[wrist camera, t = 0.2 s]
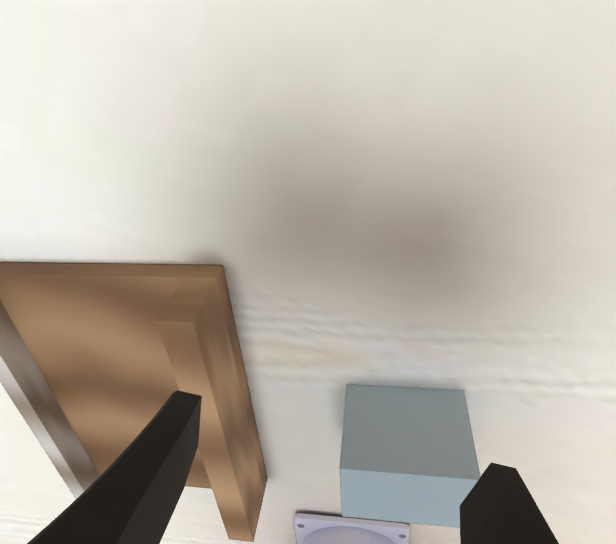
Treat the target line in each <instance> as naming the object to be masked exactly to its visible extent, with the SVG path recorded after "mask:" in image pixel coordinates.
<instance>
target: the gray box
mask: <svg viewBox="0 0 616 544" xmlns="http://www.w3.org/2000/svg"><path fill="white" fill-rule="evenodd" d="M479 478H480V472H479V467H478V461H477V456H476V451H475V446H474V441H473V435H472V430H471V425H470V420H469V415H468V409H467V404H466V399H465V394H464V390H449V389H430V388H411V387H392V386H373V385H354V384H347V386H346V398H345V410H344V422H343V434H342V446H341V458H340V486H341V504H342V516H344V517H354V518H365V519H375V520H385V521H395V522H405V523H416V524H426V525H436V526H446V527H456V528H460V505H461V503H462V502H463V500H464V499H465V498H466V496H467V495H468V494H469V492H470V491H471V489H472V488H473V487H474V485H475V484H476V483H477V481H478V480H479Z"/></svg>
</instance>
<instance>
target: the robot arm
mask: <svg viewBox="0 0 616 544" xmlns="http://www.w3.org/2000/svg"><path fill="white" fill-rule="evenodd" d="M201 400H202V396H200V395H196V394H192V393H187V392H183V391H179V390H177V391H175V392H173V393H172V394H171V396H170V397H169V398H168V400H167V401H166V402H165V404H164V405H163V406H162V407H161V409H160V410H159V411H158V412H157V414H156V415H155V416H154V417H153V419H152V420H151V421H150V422H149V423H148V425H147V426H146V427H145V428H144V429H143V430H142V431H141V433H140V434H139V435H138V436H137V437H136V438H135V439H134V441H133V442H132V443H131V444H130V445H129V446H128V447H127V448H126V449H125V450H124V451H123V452H122V454H121V455H120V456H119V457H118V458H117V459H116V460H115V461H114V462H113V463H112V464H111V465H110V466H109V467H108V468H107V469H106V471H105V472H104V473H103V474H102V475H101V476H100V477H98V478H97V479H96V480H95V481H94V482H93V483H92V484H91V485H90V486H89V487H88V488H87V489H86V490H85V491H84V492H83V493H82V494H81V495H80V496H79V497H78V498H77V499H76V500H75V501H74V502H73V503H72V504H71V505H70V506H69V507H68V508H67V509H65V510H64V511H63V512H62V513H61V514H60V515H59V516H58V517H57V518H56V519H55V520H53V521H52V522H51V523H50V524H49V525H48V526H47V527H46V528H44V529H43V530H42V531H41V532H40V533H39V534H38V535H36V536H35V537H34V538H33V539H32V540H31V541H30V542H28V543H27V544H159V543H160V541H161V538H162V536H163V534H164V532H165V530H166V527H167V525H168V523H169V521H170V518H171V516H172V514H173V512H174V509H175V507H176V505H177V503H178V500H179V498H180V496H181V493H182V491H183V489H184V487H185V484H186V481H187V478H188V475H189V472H190V469H191V466H192V463H193V460H194V457H195V454H196V451H197V448H198V442H199V428H200V414H201ZM293 522H294V528H295V533H296V539H297V544H409V538H410V527H409V526H408V525H407V524H405V523H397V522H387V521H376V520H366V519H356V518H345V517H335V516H324V515H314V514H304V513H297V514H295V515H294V520H293ZM460 535H461V544H559V543H558V541H557V540H556V538H555V536H554V534H553V533H552V531H551V529H550V528H549V526H548V524H547V522H546V521H545V519H544V517H543V515H542V514H541V512H540V510H539V508H538V507H537V505H536V503H535V501H534V499H533V498H532V496H531V494H530V492H529V491H528V489H527V487H526V485H525V484H524V482H523V480H522V478H521V477H520V475H519V473H518V471H517V470H516V468H512V467H508V466H503V465H499V464H495V463H490V465H489V466H488V468H487V469H486V470H485V472H484V473H483V474H482V476H481V477H480V478H479V480H478V481H477V483H476V484H475V485H474V487H473V488H472V489H471V491H470V492H469V494H468V495H467V496H466V498H465V499H464V500H463V502H462V503H461V505H460Z"/></svg>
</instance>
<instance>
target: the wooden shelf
mask: <svg viewBox="0 0 616 544" xmlns="http://www.w3.org/2000/svg"><path fill="white" fill-rule="evenodd" d="M0 382H1V384H2V385H3V387H4V389H5V390H6V392H7V393H8V395H9V396H10V398H11V399H12V401H13V402H14V404H15V406H16V407H17V409H18V410H19V412H20V413H21V415H22V416H23V418H24V420H25V421H26V423H27V424H28V426H29V427H30V429H31V430H32V432H33V433H34V435H35V437H36V438H37V440H38V441H39V443H40V444H41V446H42V447H43V449H44V451H45V452H46V454H47V455H48V457H49V458H50V460H51V461H52V463H53V464H54V466H55V468H56V469H57V471H58V472H59V474H60V475H61V477H62V478H63V480H64V481H65V483H66V485H67V486H68V488H69V489H70V491H71V492H72V494H73V495H74V497H75V498H76V499H77V498H78V497H79V496H80V495H81V494H82V493H83V492H84V491H85V490H86V489H87V488H88V487H89V486H90V485H91V484H92V483H93V482H94V481H95V480H96V479H97V478H98V477H100V476H101V475H102V474H103V473H104V472H105V471H106V469H107V468H108V467H109V466H110V465H111V464H112V463H113V462H114V461H115V460H116V459H117V458H118V457H119V456H120V455H121V454H122V452H123V451H124V450H125V449H126V448H127V447H128V446H129V445H130V444H131V443H132V442H133V441H134V439H135V438H136V437H137V436H138V435H139V434H140V433H141V431H142V430H143V429H144V428H145V427H146V426H147V425H148V423H149V422H150V421H151V420H152V419H153V417H154V416H155V415H156V414H157V412H158V411H159V410H160V409H161V407H162V406H163V405H164V404H165V402H166V401H167V400H168V398H169V397H170V396H171V394H172V393H173V392H175V391H177V390H179V391H183V392H187V393H192V394H196V395H200V396H202V400H201V414H200V428H199V442H198V448H197V451H196V454H195V457H194V460H193V463H192V466H191V469H190V472H189V475H188V478H187V481H186V484H185V486H188V487H199V488H210V489H212V490H213V493H214V496H215V499H216V502H217V505H218V508H219V511H220V514H221V517H222V520H223V523H224V526H225V529H226V532H227V535H228V538H229V539H231V540H241V541H250V542H253V541H254V537H255V532H256V528H257V523H258V519H259V514H260V510H261V505H262V501H263V496H264V491H265V487H266V482H267V475H266V471H265V466H264V461H263V456H262V451H261V447H260V442H259V437H258V432H257V428H256V423H255V418H254V413H253V408H252V404H251V399H250V394H249V389H248V385H247V380H246V375H245V370H244V365H243V361H242V356H241V351H240V346H239V342H238V337H237V332H236V327H235V322H234V318H233V313H232V308H231V303H230V299H229V294H228V289H227V284H226V279H225V275H224V270H223V265H163V264H91V263H19V262H0Z"/></svg>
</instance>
